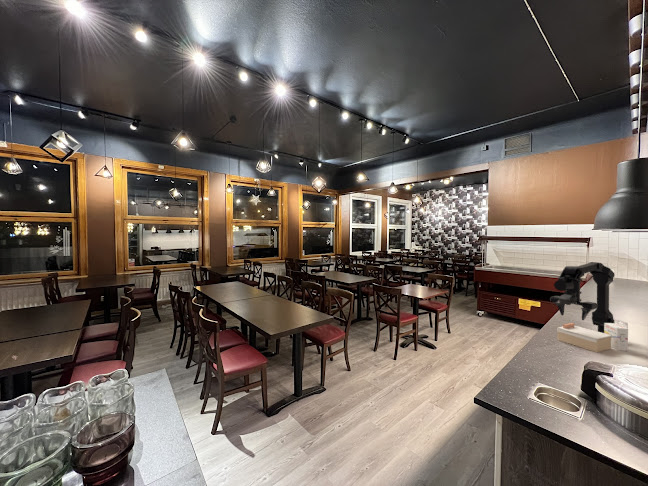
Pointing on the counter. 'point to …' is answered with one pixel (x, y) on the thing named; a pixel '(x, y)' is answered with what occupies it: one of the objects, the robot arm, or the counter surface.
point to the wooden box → (586, 342)
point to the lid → (582, 332)
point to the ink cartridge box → (617, 334)
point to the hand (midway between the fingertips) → (572, 317)
